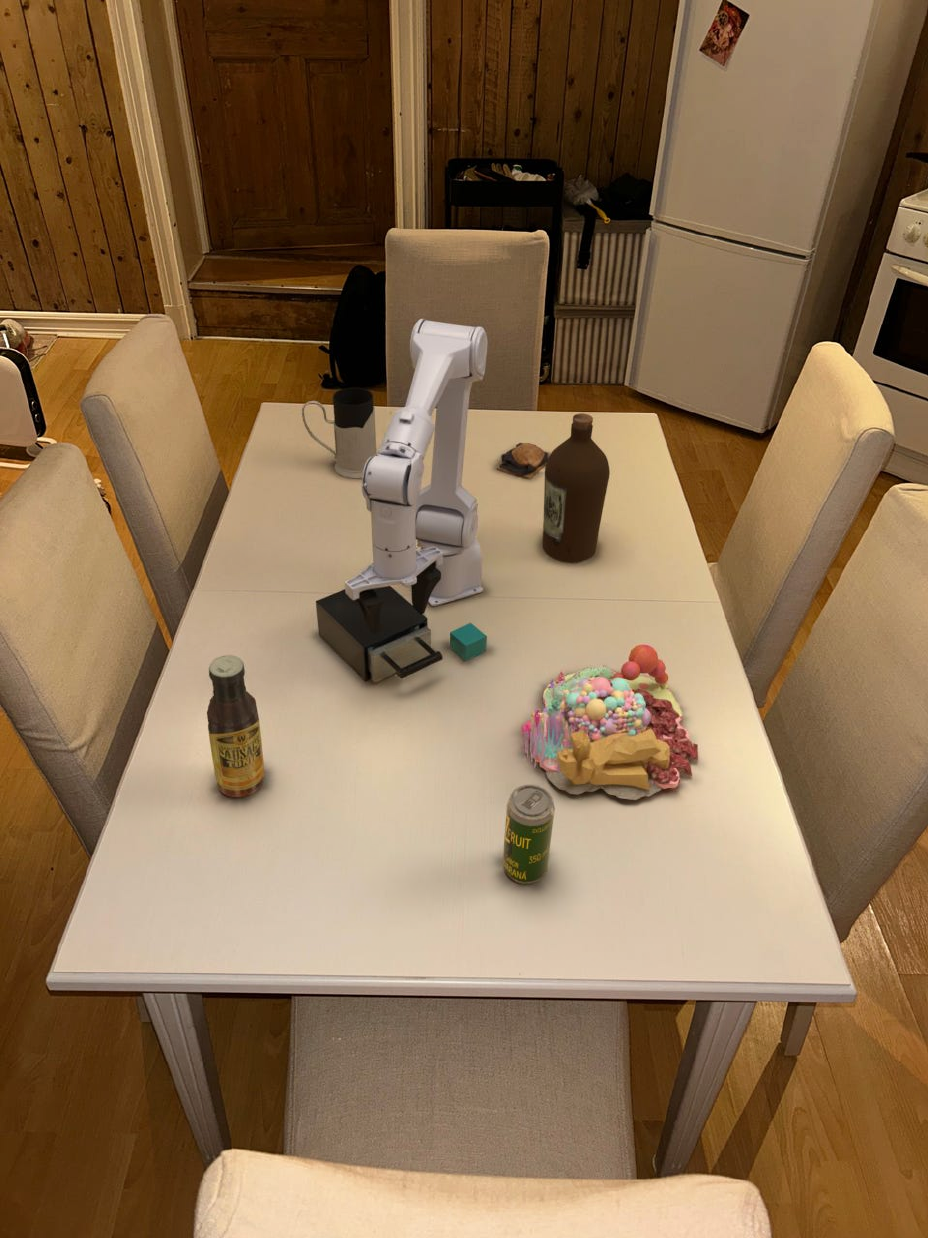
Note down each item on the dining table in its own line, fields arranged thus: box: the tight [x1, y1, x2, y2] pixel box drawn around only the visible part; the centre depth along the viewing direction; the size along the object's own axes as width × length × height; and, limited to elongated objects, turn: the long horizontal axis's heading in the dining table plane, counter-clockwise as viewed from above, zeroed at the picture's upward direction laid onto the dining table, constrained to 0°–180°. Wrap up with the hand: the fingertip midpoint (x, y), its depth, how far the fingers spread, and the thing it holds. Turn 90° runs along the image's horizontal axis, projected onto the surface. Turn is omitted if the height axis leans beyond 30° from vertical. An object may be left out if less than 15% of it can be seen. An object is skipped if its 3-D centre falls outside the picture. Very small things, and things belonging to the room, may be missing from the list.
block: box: [449, 622, 488, 662], centre depth 145 cm, size 4×4×3 cm
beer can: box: [502, 784, 556, 885], centre depth 111 cm, size 5×5×12 cm
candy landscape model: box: [521, 644, 699, 801], centre depth 129 cm, size 25×24×9 cm
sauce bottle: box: [206, 654, 265, 798], centre depth 118 cm, size 7×6×20 cm
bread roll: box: [496, 442, 552, 480], centre depth 189 cm, size 11×8×4 cm
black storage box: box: [315, 586, 429, 683], centre depth 144 cm, size 13×11×7 cm
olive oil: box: [542, 412, 611, 563], centre depth 160 cm, size 11×11×25 cm
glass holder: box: [301, 387, 377, 479], centre depth 183 cm, size 9×14×15 cm, turn 89°
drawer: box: [367, 625, 444, 683], centre depth 141 cm, size 17×10×5 cm, turn 38°
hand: (396, 620), depth 134 cm, fingers open, 7 cm apart
